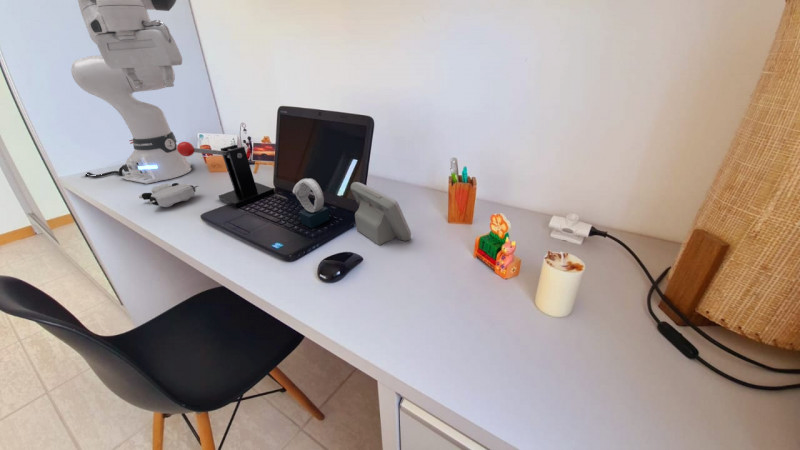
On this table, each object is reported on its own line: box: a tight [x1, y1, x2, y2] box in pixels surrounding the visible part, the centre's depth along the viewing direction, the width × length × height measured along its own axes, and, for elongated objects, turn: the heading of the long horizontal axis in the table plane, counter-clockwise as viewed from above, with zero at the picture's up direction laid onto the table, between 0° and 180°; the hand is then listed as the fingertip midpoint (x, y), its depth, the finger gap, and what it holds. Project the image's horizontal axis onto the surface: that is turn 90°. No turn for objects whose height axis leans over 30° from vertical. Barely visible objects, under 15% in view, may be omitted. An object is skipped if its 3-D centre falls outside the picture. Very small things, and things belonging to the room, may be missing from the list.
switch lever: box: [177, 141, 232, 158], centre depth 86 cm, size 15×4×4 cm, turn 141°
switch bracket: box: [218, 144, 276, 209], centre depth 93 cm, size 12×10×15 cm
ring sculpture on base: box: [292, 177, 331, 229], centre depth 78 cm, size 6×8×11 cm
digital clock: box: [350, 181, 412, 246], centre depth 72 cm, size 16×9×11 cm, turn 27°
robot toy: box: [138, 182, 200, 208], centre depth 96 cm, size 12×4×15 cm
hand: (154, 87), depth 82 cm, fingers open, 8 cm apart
